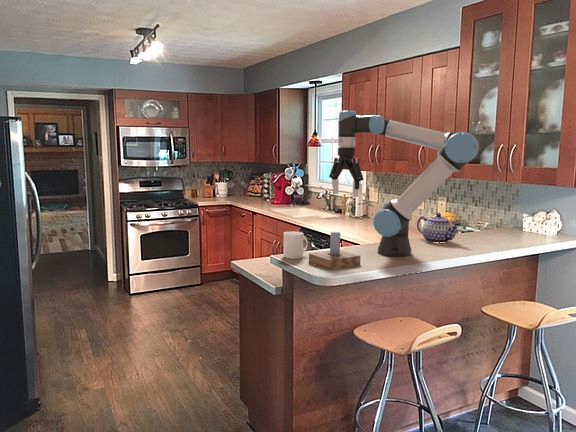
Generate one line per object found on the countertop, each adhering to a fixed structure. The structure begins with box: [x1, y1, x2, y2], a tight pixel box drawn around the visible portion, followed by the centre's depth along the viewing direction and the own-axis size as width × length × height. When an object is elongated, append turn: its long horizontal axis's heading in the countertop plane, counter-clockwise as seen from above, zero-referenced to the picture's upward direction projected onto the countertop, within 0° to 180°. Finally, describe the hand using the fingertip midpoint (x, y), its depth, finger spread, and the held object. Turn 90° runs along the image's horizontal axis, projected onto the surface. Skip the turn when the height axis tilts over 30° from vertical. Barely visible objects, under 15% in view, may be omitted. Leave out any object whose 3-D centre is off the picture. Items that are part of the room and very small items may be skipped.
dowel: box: [329, 231, 341, 256], centre depth 202 cm, size 4×4×12 cm
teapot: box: [416, 212, 461, 243], centre depth 252 cm, size 25×15×15 cm, turn 37°
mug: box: [283, 231, 309, 260], centre depth 215 cm, size 9×12×11 cm
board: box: [308, 249, 361, 271], centre depth 203 cm, size 16×14×4 cm
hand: (345, 195), depth 218 cm, fingers open, 13 cm apart
